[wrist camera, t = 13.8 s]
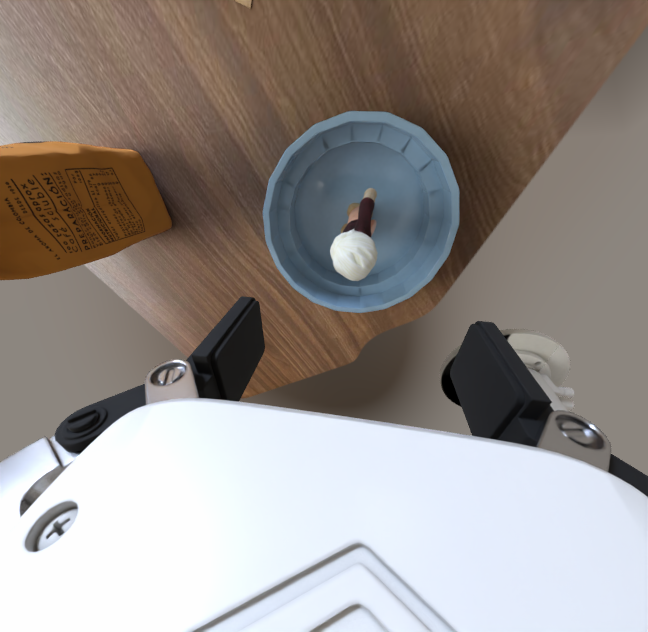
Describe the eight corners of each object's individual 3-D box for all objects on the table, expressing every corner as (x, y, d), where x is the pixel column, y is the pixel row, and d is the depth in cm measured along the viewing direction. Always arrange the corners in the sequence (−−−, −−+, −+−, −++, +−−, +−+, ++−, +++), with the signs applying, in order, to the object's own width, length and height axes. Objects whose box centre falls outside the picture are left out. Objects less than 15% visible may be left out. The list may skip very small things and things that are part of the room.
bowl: (466, 121, 22) (496, 114, 17) (417, 292, 32) (427, 319, 27) (274, 115, 23) (251, 108, 18) (285, 281, 33) (272, 304, 28)
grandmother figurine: (367, 255, 29) (370, 317, 19) (335, 249, 29) (320, 307, 19) (385, 182, 25) (402, 209, 14) (347, 175, 25) (336, 198, 14)
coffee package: (46, 143, 27) (-568, 142, 9) (150, 141, 26) (-334, 135, 8) (95, 235, 33) (-227, 345, 15) (182, 237, 31) (-56, 362, 13)
